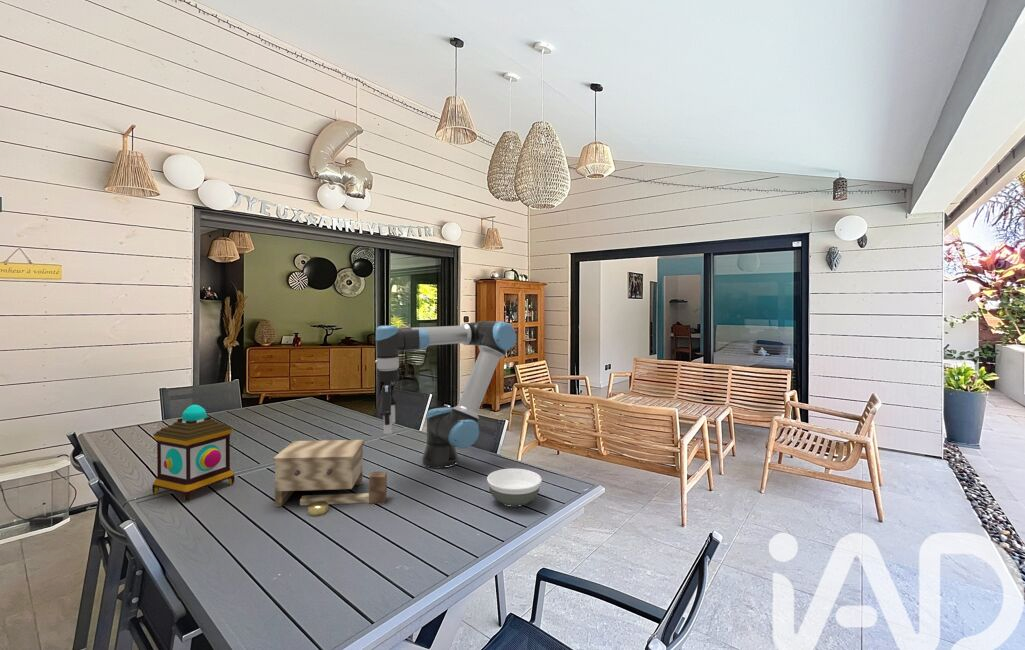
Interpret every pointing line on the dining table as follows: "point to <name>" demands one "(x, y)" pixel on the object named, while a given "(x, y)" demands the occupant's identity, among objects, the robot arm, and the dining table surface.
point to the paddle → (373, 497)
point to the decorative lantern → (192, 453)
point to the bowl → (514, 486)
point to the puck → (317, 508)
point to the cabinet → (317, 467)
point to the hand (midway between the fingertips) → (389, 428)
